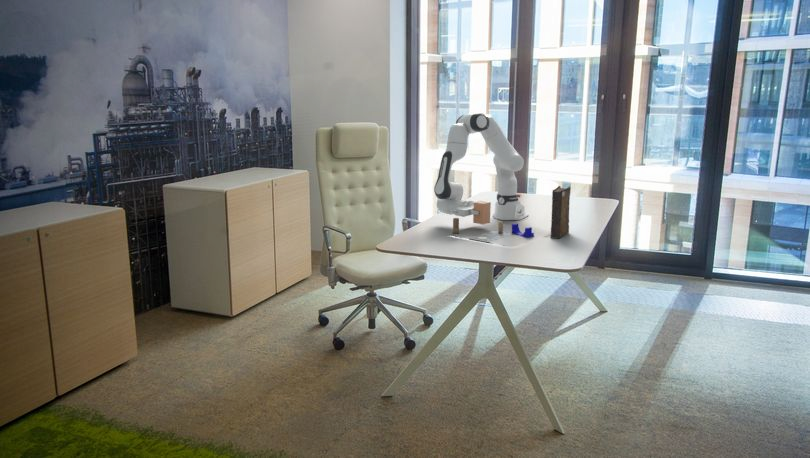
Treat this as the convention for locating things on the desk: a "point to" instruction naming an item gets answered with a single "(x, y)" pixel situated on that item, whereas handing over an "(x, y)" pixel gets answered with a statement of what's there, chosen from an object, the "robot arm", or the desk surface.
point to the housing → (482, 212)
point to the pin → (455, 226)
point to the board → (491, 234)
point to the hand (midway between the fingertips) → (483, 211)
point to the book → (560, 212)
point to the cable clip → (516, 231)
